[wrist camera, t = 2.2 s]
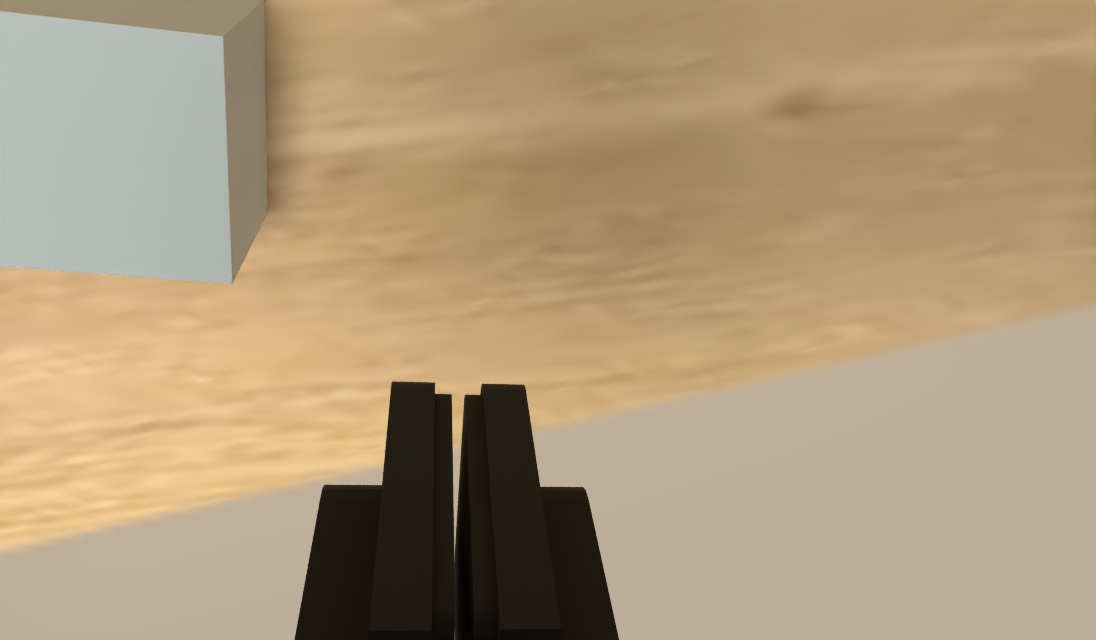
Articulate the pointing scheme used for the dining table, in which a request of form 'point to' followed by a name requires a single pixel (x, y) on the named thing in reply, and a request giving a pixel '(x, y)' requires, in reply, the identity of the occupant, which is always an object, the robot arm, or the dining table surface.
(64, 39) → the block
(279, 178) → the dining table surface
